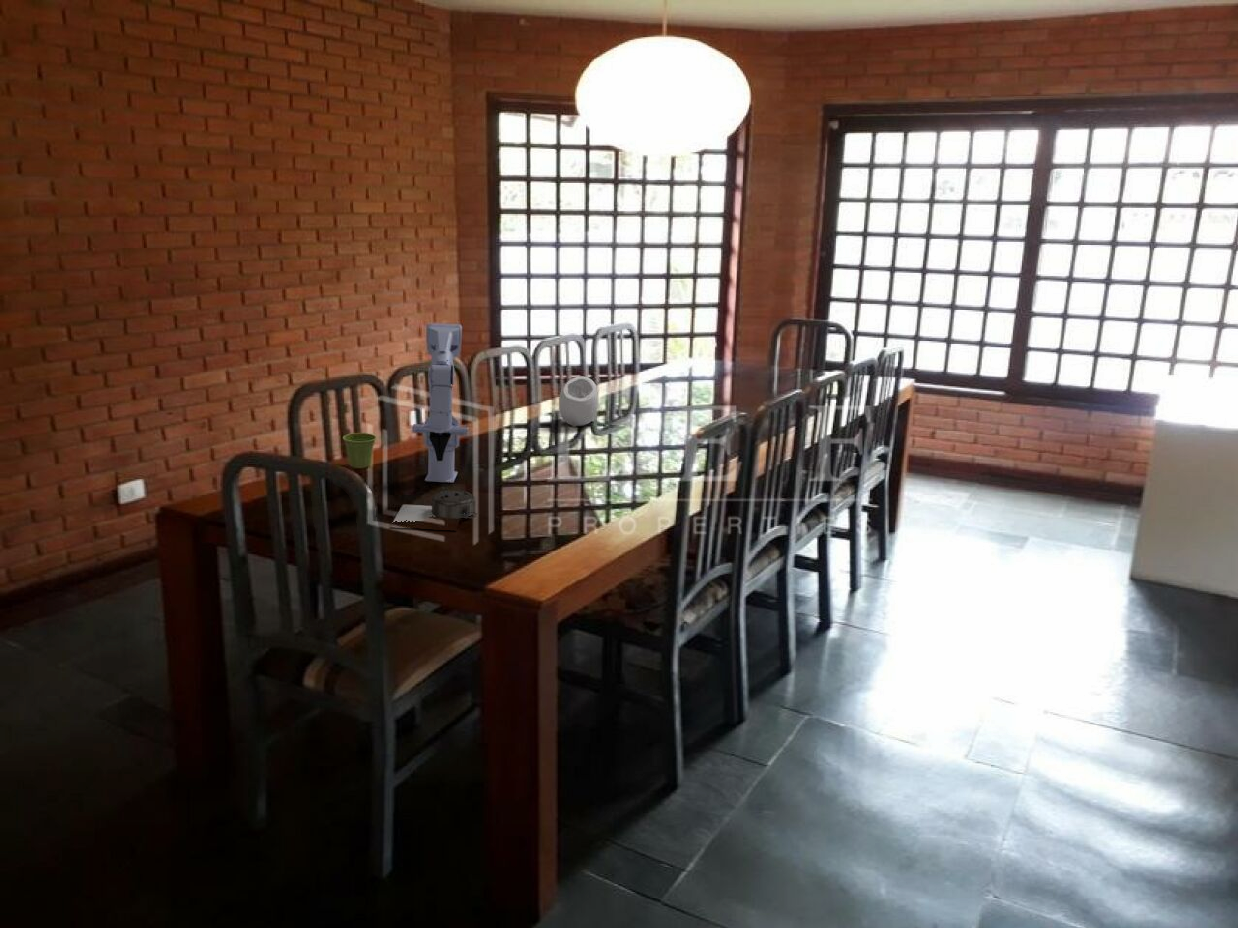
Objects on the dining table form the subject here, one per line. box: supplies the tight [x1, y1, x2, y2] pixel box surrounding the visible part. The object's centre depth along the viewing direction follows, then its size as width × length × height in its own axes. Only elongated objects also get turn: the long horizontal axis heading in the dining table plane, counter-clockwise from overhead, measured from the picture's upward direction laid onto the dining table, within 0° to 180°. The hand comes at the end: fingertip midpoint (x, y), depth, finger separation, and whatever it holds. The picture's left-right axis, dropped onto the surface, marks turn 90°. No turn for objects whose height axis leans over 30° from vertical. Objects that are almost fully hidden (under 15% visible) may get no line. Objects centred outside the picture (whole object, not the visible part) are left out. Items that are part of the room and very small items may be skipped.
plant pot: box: [342, 432, 377, 469], centre depth 275 cm, size 9×9×9 cm
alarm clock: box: [425, 486, 478, 519], centre depth 241 cm, size 11×5×16 cm
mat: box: [392, 503, 436, 523], centre depth 239 cm, size 16×16×1 cm
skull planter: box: [558, 375, 600, 428], centre depth 341 cm, size 14×20×19 cm
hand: (440, 460), depth 252 cm, fingers closed
